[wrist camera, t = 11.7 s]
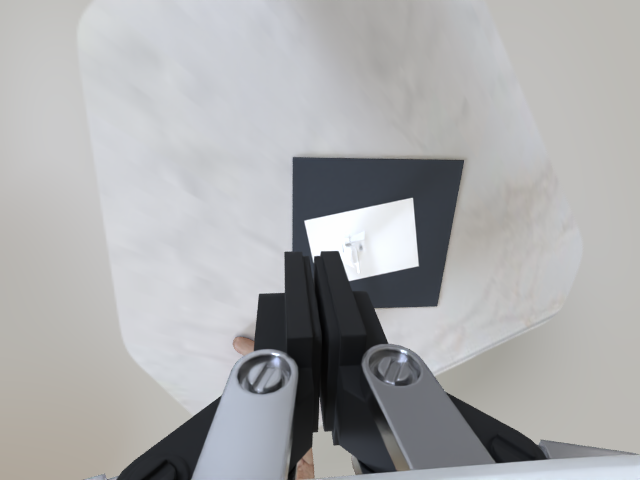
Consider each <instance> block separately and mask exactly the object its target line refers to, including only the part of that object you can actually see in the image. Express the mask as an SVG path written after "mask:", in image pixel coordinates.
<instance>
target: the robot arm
mask: <svg viewBox="0 0 640 480" xmlns="http://www.w3.org/2000/svg"><path fill="white" fill-rule="evenodd" d="M319 397H320V404H321V412H322V420H323V428H324V431H332V437H333V445H340V446H342V447H343V448H344V449H345V450H347V451H348V452H349V453H351V454H352V465H353V469H354V472H355V475H351V476H341V477H328V478H316V479H304V480H640V455H639V454H635V453H630V452H624V451H617V450H609V449H603V448H596V447H589V446H582V445H575V444H568V443H561V442H554V441H546V440H541V441H540V443H539V445H536V444H535V443H534V442H533V441H532V440H531V439H529V438H528V437H526V436H525V435H523V434H522V433H520V432H518V431H517V430H515V429H513V428H511V427H509V426H507V425H506V424H503V423H501V422H500V421H498V420H496V419H494V418H493V417H491V416H489V415H487V414H485V413H483V412H481V411H480V410H478V409H476V408H474V407H472V406H471V405H469V404H467V403H465V402H463V401H461V400H459V399H457V398H456V397H454V396H452V395H450V394H448V393H447V392H445V391H444V389H443V388H442V387H441V385H440V384H439V382H438V381H437V380H436V378H435V377H434V375H433V374H432V372H431V371H430V370H429V368H428V367H427V365H426V364H425V363H424V361H423V360H422V359H421V358H420V357H419V356H418V355H417V354H416V353H414V352H413V351H411V350H410V349H408V348H405V347H403V346H400V345H394V344H388V342H387V339H386V337H385V334H384V332H383V329H382V327H381V324H380V322H379V319H378V317H377V314H376V312H375V309H374V307H373V305H372V302H371V300H370V297H369V295H368V293H367V291H352V289H351V286H350V283H349V280H348V277H347V274H346V271H345V268H344V265H343V262H342V259H341V256H340V253H339V251H321V253H320V256H314V272H313V277H312V271H311V265H310V258H309V256H303V255H302V251H301V252H285V293H270V294H259V300H258V311H257V321H256V331H255V341H254V351H253V352H251V353H249V354H247V355H245V356H243V357H242V358H241V359H240V360H238V361H237V362H236V363H235V365H234V367H233V368H232V370H231V373H230V375H229V378H228V381H227V383H226V386H225V389H224V392H223V394H222V396H220V397H219V398H218V399H216V400H215V401H214V402H212V403H211V404H210V405H208V406H207V407H206V408H204V409H203V410H201V411H200V412H199V413H197V414H196V415H195V416H193V417H192V418H191V419H190V420H188V421H187V422H185V423H184V424H183V425H181V426H180V427H179V428H177V429H176V430H175V431H173V432H172V433H171V434H169V435H168V436H167V437H165V438H164V439H163V440H161V441H160V442H158V443H157V444H156V445H154V446H153V447H152V448H151V449H149V450H148V451H146V452H145V453H144V454H142V455H141V456H140V457H138V458H137V459H136V460H134V461H133V462H132V463H131V464H130V465H129V466H128V467H127V468H126V469H124V470H123V471H122V472H121V474H120V475H119V476H117V477H113V478H110V479H107V478H106V475H105V474H102V475H98V476H95V477H91V478H88V479H84V480H297V463H298V462H299V461H300V460H301V459H302V457H303V456H304V455H305V454H306V453H307V452H308V451H309V450H310V448H311V447H312V436H313V432H318V419H319Z"/></svg>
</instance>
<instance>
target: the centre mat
mask: <svg viewBox="0 0 640 480" xmlns="http://www.w3.org/2000/svg"><path fill="white" fill-rule="evenodd" d="M463 164H464V160H413V159H354V158H295V157H293V252H301V251H302V255H303V256H309V258H310V265H311V271H312V277H313V272H314V263H313V258H312V254H311V249H310V245H309V240H308V235H307V231H306V226H305V222H304V221H305V220H310V219H315V218H319V217H324V216H329V215H334V214H338V213H343V212H348V211H352V210H357V209H362V208H366V207H371V206H376V205H381V204H385V203H390V202H395V201H399V200H404V199H409V198H413V205H414V216H415V228H416V239H417V251H418V263H419V266H417V267H412V268H408V269H403V270H398V271H394V272H389V273H384V274H380V275H375V276H371V277H366V278H361V279H357V280H352V281H349V283H350V286H351V289H352V291H367V293H368V295H369V297H370V300H371V302H372V305H373V307H374V308H393V307H429V306H437V304H438V299H439V293H440V288H441V282H442V277H443V272H444V266H445V261H446V255H447V250H448V245H449V239H450V234H451V228H452V223H453V218H454V212H455V207H456V201H457V196H458V191H459V185H460V180H461V175H462V169H463Z"/></svg>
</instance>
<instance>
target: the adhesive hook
mask: <svg viewBox="0 0 640 480" xmlns="http://www.w3.org/2000/svg"><path fill="white" fill-rule="evenodd" d="M365 239H366V231H365V230H363V231H361V232H359V233H357V234H355V235H352V236H351V233H350V232H343V233H342V241H341V247H340V256H341V259H342V262H343V263H345V264H346V265H348V266H350V267H352V268H353V269H354V268H355V265H356V273H357V274H361V273H362V271H361V262H362V257H361V255H362V254H363V253H365V252H366V251H367V246H366V240H365Z"/></svg>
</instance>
